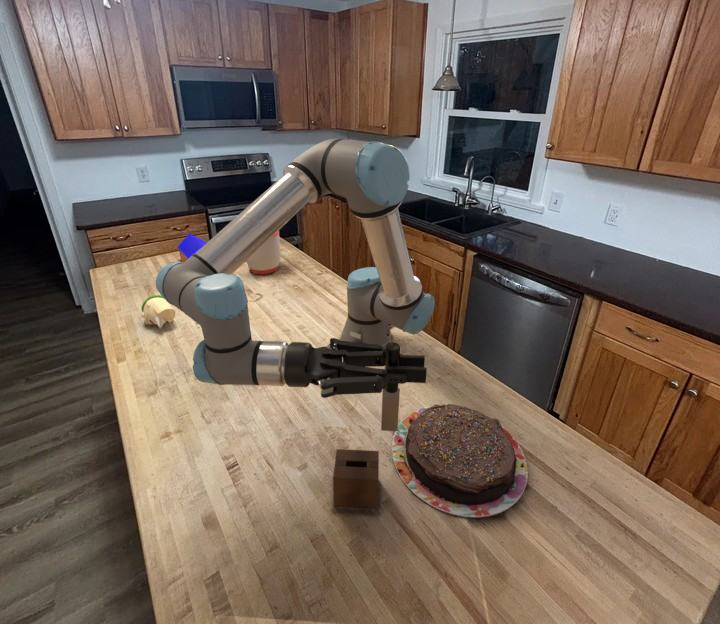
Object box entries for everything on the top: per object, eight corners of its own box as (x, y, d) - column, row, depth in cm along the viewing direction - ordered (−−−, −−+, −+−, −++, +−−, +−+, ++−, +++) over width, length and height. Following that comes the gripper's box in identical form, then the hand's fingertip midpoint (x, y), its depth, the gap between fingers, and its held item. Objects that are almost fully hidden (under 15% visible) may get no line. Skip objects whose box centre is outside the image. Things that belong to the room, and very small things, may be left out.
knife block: (334, 510, 72) (332, 477, 68) (337, 481, 77) (336, 448, 73) (377, 513, 71) (378, 479, 68) (377, 483, 77) (378, 450, 73)
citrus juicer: (235, 270, 168) (229, 225, 160) (270, 259, 179) (266, 217, 170) (253, 281, 158) (247, 235, 149) (289, 269, 168) (286, 225, 160)
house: (193, 275, 163) (188, 249, 158) (180, 260, 177) (175, 236, 172) (221, 268, 170) (217, 243, 165) (206, 254, 184) (202, 230, 179)
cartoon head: (164, 341, 124) (145, 315, 138) (187, 320, 127) (166, 296, 140) (143, 327, 118) (126, 301, 132) (168, 305, 121) (148, 281, 134)
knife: (381, 435, 71) (384, 350, 63) (381, 424, 73) (384, 341, 65) (397, 435, 71) (402, 350, 63) (397, 425, 73) (402, 342, 65)
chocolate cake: (388, 406, 96) (389, 385, 93) (503, 409, 95) (507, 388, 92) (394, 519, 70) (395, 495, 67) (550, 525, 69) (558, 501, 67)
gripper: (298, 354, 75) (419, 358, 74) (278, 414, 61) (428, 420, 60) (295, 321, 72) (422, 325, 71) (274, 376, 58) (432, 382, 57)
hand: (424, 369), depth 66 cm, fingers closed on knife, 2 cm apart
